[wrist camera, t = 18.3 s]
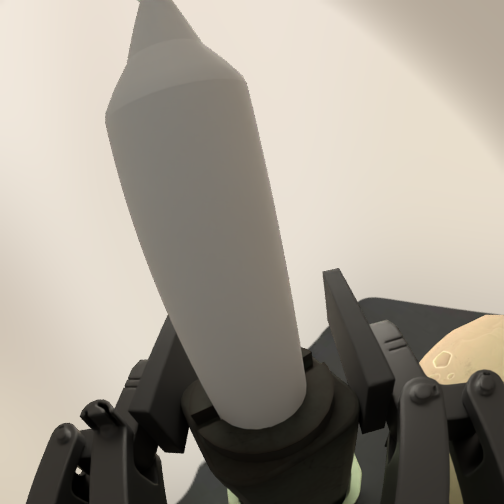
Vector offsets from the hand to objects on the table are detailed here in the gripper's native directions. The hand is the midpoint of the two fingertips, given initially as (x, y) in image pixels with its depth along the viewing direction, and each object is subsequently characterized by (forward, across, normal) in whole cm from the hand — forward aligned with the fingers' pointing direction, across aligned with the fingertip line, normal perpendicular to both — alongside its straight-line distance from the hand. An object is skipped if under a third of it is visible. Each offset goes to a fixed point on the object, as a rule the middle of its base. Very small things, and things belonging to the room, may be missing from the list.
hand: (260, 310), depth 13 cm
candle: (-5, 0, -13) cm, 14 cm away
